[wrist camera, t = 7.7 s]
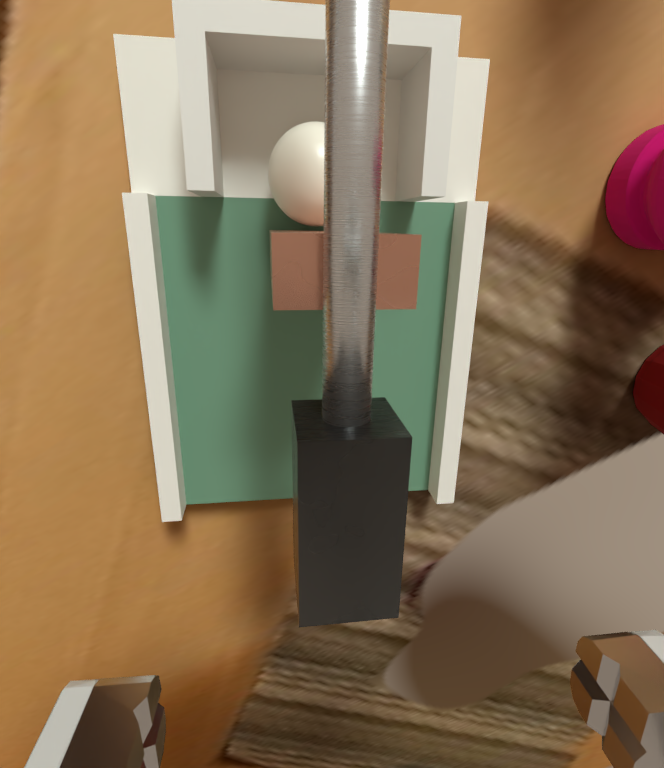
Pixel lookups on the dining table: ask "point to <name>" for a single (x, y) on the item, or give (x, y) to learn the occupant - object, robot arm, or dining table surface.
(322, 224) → the ball
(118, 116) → the dining table surface
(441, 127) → the pitch
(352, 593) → the kicker rod
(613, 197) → the pepper mill
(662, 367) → the plastic cup
